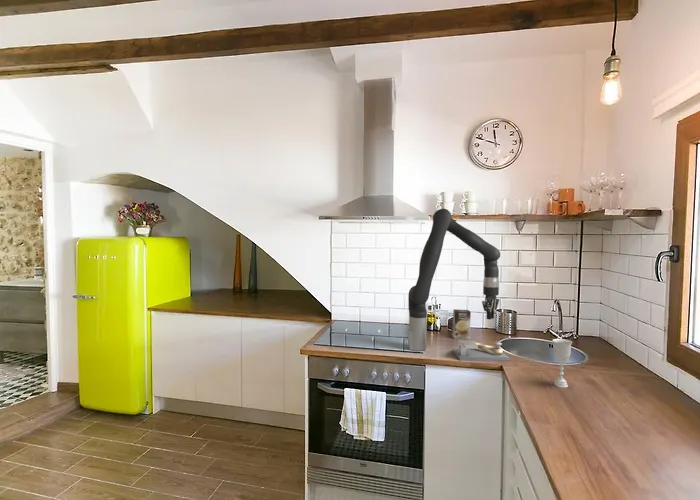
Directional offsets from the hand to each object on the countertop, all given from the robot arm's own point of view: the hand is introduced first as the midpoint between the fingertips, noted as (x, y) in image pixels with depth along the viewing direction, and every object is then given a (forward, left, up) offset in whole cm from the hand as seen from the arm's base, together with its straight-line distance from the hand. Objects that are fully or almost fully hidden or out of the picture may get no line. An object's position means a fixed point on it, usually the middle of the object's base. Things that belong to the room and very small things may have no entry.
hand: (490, 318), depth 201 cm
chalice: (+12, -45, -17) cm, 50 cm away
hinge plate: (-8, -8, -17) cm, 20 cm away
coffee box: (-7, +26, -17) cm, 32 cm away
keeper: (-15, -11, -17) cm, 25 cm away
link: (-4, -6, -15) cm, 17 cm away
